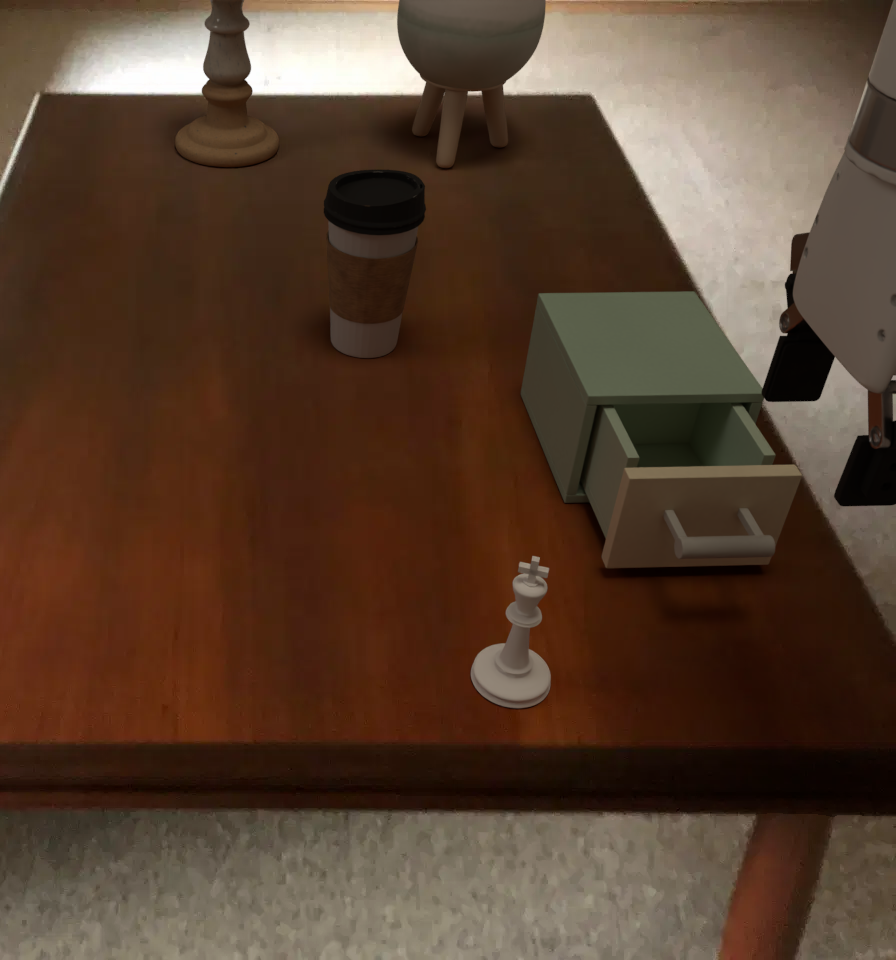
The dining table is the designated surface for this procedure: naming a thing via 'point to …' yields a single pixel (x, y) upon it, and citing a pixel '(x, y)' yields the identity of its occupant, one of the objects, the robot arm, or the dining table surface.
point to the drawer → (685, 485)
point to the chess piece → (516, 648)
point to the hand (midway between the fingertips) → (825, 447)
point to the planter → (466, 59)
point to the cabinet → (622, 367)
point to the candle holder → (227, 99)
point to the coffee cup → (371, 256)
